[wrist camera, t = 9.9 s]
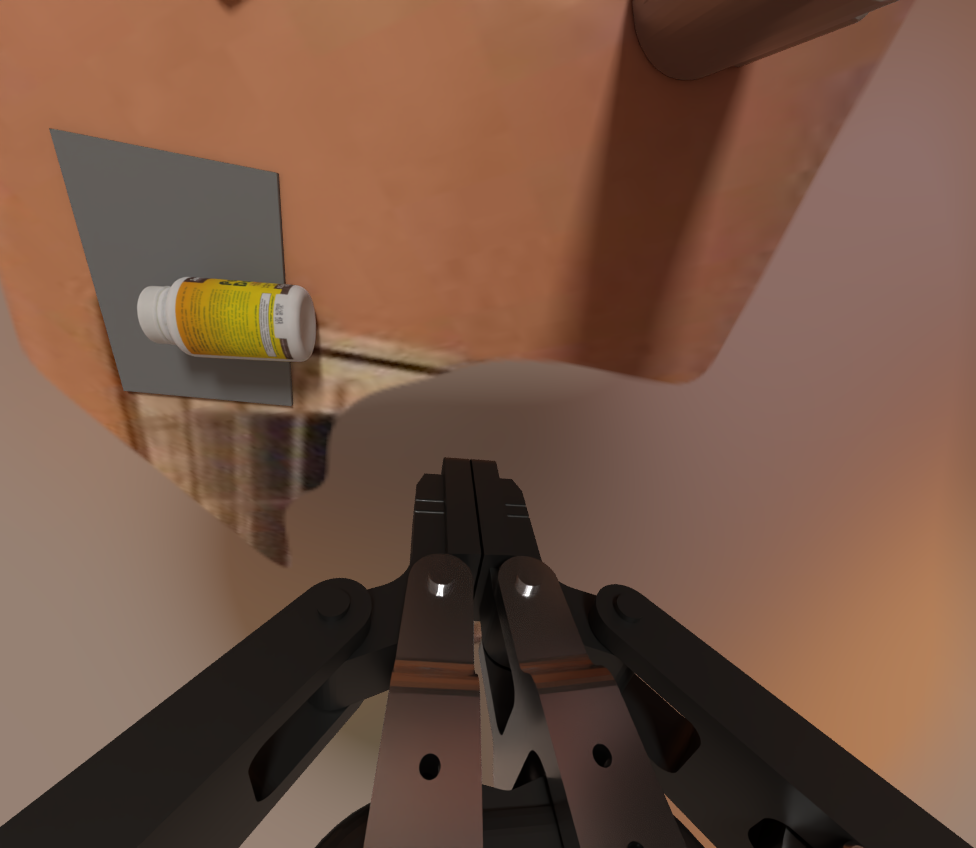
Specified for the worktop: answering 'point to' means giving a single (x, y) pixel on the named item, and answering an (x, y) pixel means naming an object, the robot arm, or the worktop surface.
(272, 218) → the mat
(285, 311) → the supplement bottle
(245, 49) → the worktop surface
